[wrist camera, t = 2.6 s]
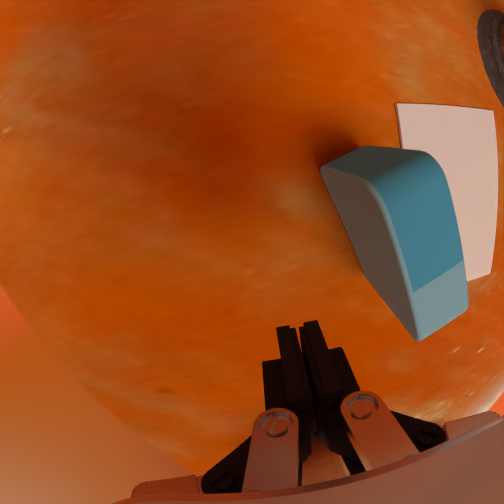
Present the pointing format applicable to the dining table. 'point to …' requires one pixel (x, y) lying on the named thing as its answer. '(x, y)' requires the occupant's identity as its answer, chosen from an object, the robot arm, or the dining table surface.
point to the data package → (402, 232)
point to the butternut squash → (322, 465)
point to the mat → (461, 170)
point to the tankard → (493, 48)
